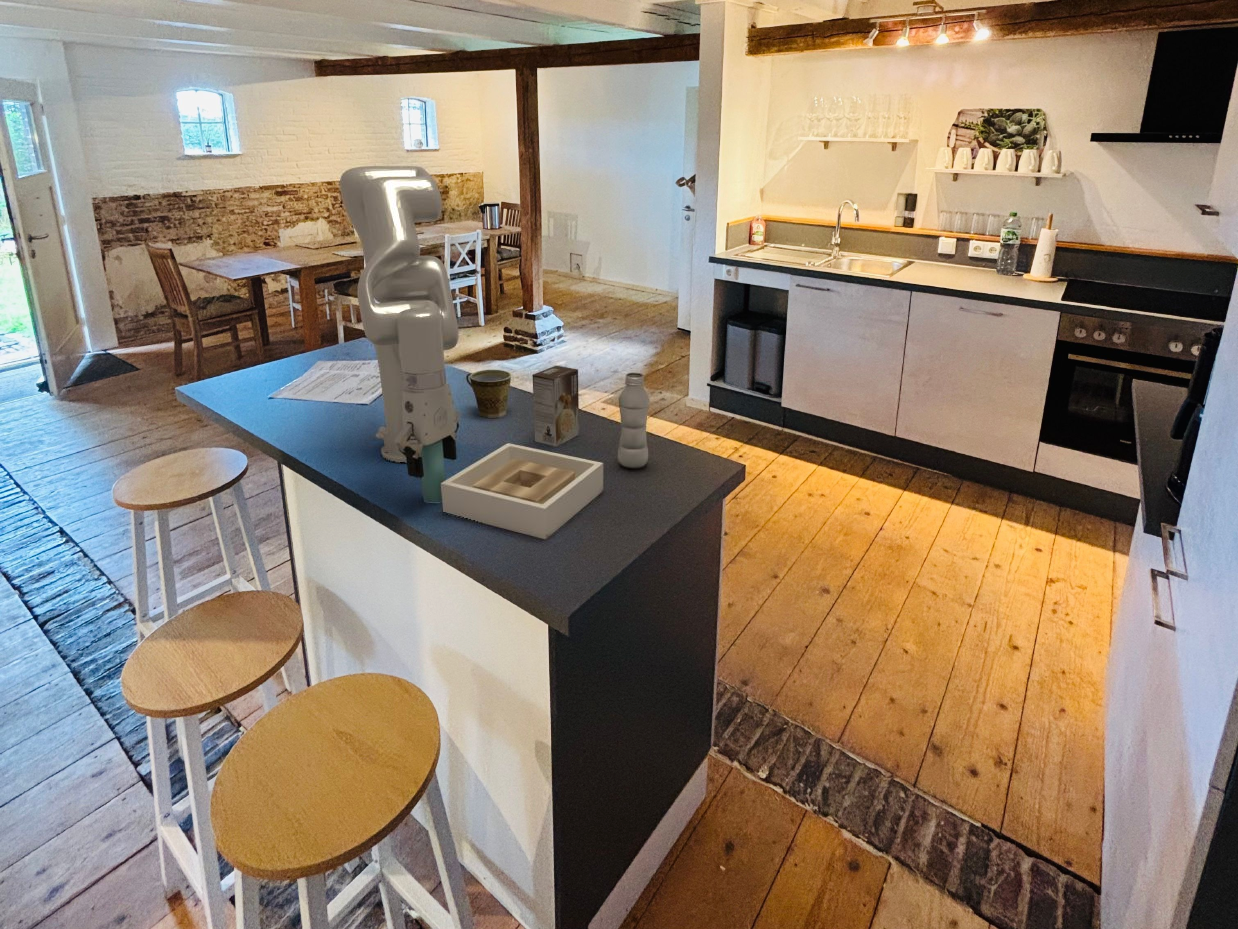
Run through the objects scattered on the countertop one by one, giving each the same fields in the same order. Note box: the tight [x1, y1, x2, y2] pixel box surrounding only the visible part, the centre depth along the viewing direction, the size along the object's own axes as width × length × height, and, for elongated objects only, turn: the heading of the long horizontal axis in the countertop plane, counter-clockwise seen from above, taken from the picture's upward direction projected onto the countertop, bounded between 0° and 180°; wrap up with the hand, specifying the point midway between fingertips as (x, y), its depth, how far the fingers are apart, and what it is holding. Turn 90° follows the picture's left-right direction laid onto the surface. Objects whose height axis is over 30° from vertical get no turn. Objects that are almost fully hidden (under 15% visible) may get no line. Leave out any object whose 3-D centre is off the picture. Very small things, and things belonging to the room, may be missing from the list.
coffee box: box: [531, 365, 580, 448], centre depth 173 cm, size 9×6×16 cm
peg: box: [419, 439, 447, 502], centre depth 144 cm, size 4×4×12 cm
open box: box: [441, 443, 604, 540], centre depth 145 cm, size 22×22×6 cm
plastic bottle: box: [617, 372, 651, 469], centre depth 158 cm, size 6×7×20 cm
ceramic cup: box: [465, 369, 512, 419], centre depth 189 cm, size 13×10×10 cm
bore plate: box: [472, 459, 575, 504], centre depth 145 cm, size 14×14×4 cm
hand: (433, 467), depth 143 cm, fingers open, 9 cm apart
